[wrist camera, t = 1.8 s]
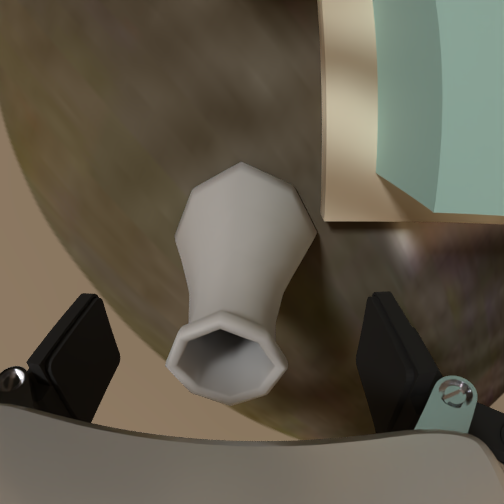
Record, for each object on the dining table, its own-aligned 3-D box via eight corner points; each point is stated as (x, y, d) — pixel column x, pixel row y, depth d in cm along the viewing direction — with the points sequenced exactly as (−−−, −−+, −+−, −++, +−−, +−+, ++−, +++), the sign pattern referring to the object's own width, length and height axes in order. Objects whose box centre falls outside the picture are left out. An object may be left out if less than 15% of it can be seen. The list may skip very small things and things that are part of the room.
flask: (339, 230, 17) (406, 359, 8) (249, 310, 19) (238, 456, 10) (240, 136, 15) (203, 175, 6) (154, 234, 18) (66, 355, 8)
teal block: (372, -3, 11) (426, -49, 5) (508, 39, 10) (580, 35, 5) (375, 173, 14) (433, 212, 9) (506, 184, 14) (574, 221, 9)
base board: (313, -39, 11) (316, -48, 10) (518, 19, 10) (529, 17, 9) (320, 213, 17) (324, 221, 16) (512, 218, 16) (523, 225, 15)
